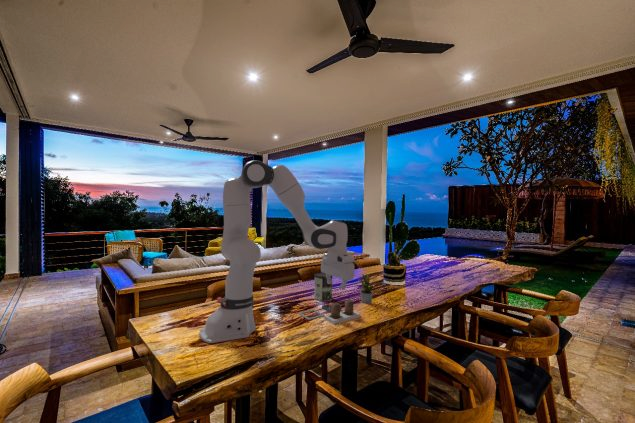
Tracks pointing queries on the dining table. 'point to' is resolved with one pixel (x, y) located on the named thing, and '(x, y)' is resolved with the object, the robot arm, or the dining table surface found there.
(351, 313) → the billet
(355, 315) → the plate
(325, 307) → the button housing
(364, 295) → the house plant
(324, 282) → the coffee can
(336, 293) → the dining table surface
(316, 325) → the dining table surface
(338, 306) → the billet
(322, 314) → the parts tray
